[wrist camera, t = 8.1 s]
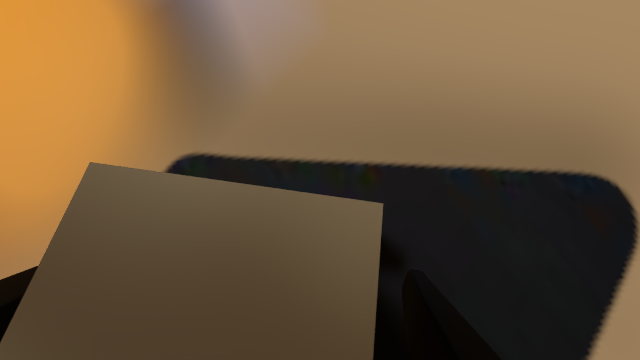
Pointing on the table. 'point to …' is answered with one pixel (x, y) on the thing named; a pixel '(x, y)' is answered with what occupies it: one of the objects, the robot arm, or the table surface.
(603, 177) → the table surface
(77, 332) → the maple block
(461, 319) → the robot arm
